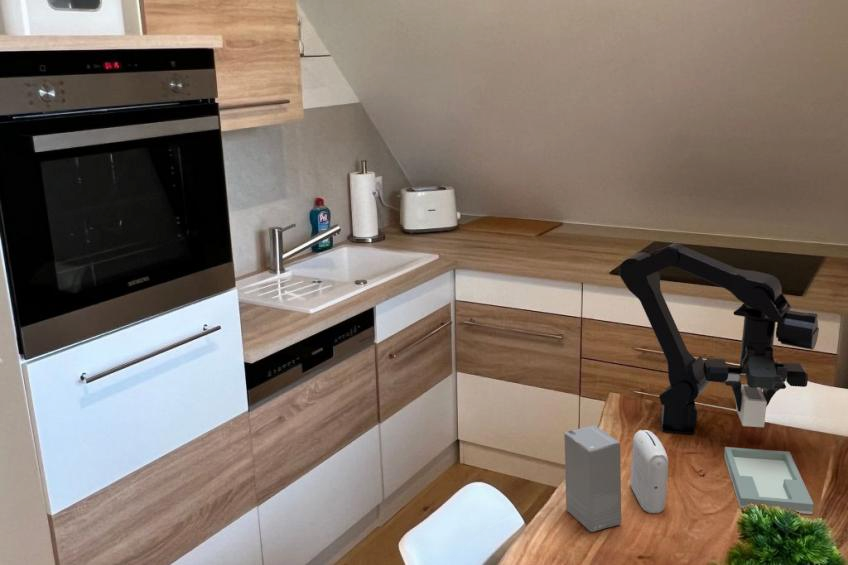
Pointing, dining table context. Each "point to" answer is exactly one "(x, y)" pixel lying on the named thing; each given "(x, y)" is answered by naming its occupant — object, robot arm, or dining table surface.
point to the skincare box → (593, 477)
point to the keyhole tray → (767, 479)
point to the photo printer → (649, 471)
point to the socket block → (752, 407)
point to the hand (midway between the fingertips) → (750, 411)
